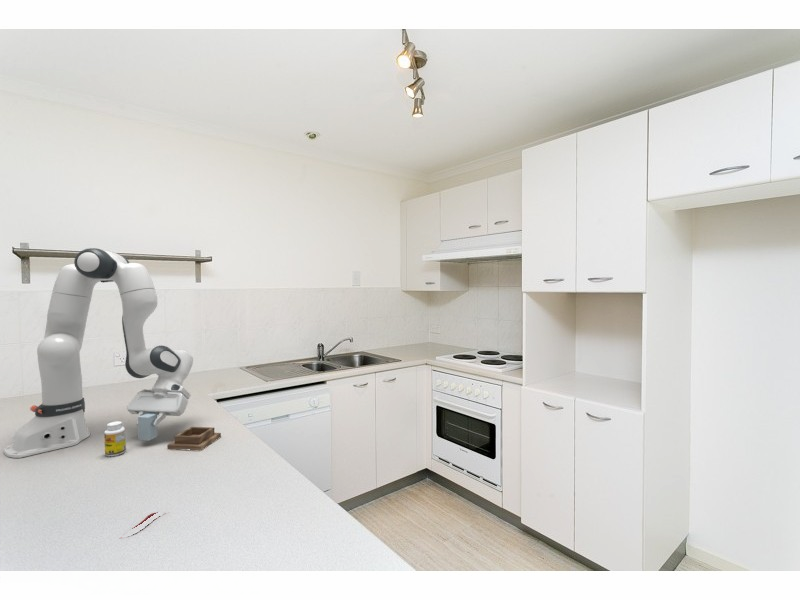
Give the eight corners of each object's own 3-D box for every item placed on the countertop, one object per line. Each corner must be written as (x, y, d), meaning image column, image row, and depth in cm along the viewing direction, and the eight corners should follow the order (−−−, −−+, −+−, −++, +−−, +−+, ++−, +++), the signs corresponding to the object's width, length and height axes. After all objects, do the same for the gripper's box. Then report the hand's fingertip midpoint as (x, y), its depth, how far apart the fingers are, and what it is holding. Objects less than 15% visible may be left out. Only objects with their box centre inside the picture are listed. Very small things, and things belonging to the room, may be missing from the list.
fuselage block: (149, 440, 135) (148, 417, 135) (138, 439, 135) (138, 417, 135) (157, 436, 139) (157, 413, 139) (147, 435, 139) (146, 413, 139)
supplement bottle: (101, 455, 129) (100, 424, 128) (120, 448, 134) (119, 419, 133) (110, 458, 126) (109, 427, 125) (129, 452, 131) (128, 422, 130)
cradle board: (200, 451, 131) (200, 439, 131) (167, 449, 133) (167, 437, 132) (220, 437, 143) (220, 426, 143) (190, 435, 145) (189, 425, 144)
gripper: (135, 385, 145) (113, 420, 135) (187, 386, 142) (168, 422, 133) (144, 393, 149) (124, 428, 140) (194, 395, 147) (177, 430, 138)
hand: (146, 425), depth 136 cm, fingers closed on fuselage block, 4 cm apart
